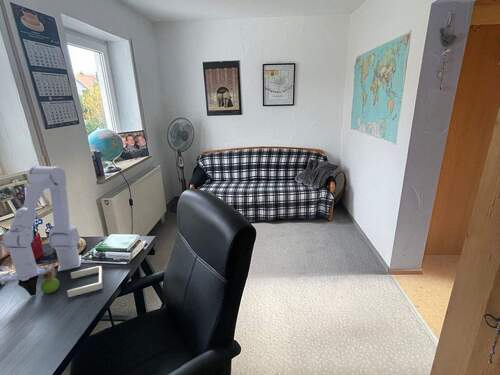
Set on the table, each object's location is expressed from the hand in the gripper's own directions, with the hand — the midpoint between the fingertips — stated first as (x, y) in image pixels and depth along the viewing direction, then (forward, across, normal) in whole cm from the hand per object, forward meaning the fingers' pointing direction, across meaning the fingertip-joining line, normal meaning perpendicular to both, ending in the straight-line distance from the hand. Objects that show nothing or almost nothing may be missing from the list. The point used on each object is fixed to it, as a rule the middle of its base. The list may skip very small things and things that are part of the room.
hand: (33, 293), depth 97 cm
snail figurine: (+1, +6, 0) cm, 6 cm away
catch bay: (+1, +16, 0) cm, 16 cm away
